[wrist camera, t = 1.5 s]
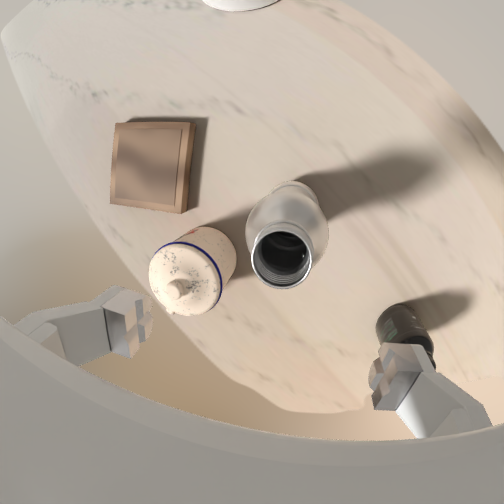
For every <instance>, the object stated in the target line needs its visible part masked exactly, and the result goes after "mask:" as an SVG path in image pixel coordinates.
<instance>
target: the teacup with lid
mask: <svg viewBox="0 0 504 504" xmlns="http://www.w3.org/2000/svg"><path fill="white" fill-rule="evenodd" d="M236 261H237V257H236V251H235V248H234V246H233V244H232V242H231V241H230V240H229V238H228V237H227V236H226V235H225V234H223V233H222V232H220V231H219V230H217V229H214V228H211V227H198V228H194V229H192V230H190V231H189V232H187V233H186V234H184V235H183V236H181V237H180V238H178V239H177V240H175V241H174V242H172V243H168V244H166V245H164V246H162V247H161V248H160V249H159V250H158V251H157V252H156V253H155V254H154V256H153V258H152V260H151V263H150V267H149V280H150V285H151V287H152V290H153V292H154V294H155V295H156V297H157V298H158V299H159V301H160V302H161V303H162V304H163V305H164V306H166V307H167V308H166V310H167V312H168V313H170V314H175V313H178V314H181V315H187V316H195V315H200V314H203V313H205V312H207V311H209V310H211V309H212V308H213V307H214V306H215V305H216V304H217V302H218V301H219V299H220V297H221V293H222V290H223V289H224V287H225V285H226V284H227V282H228V280H229V279H230V277H231V276H232V274H233V272H234V270H235V267H236Z"/></svg>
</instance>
